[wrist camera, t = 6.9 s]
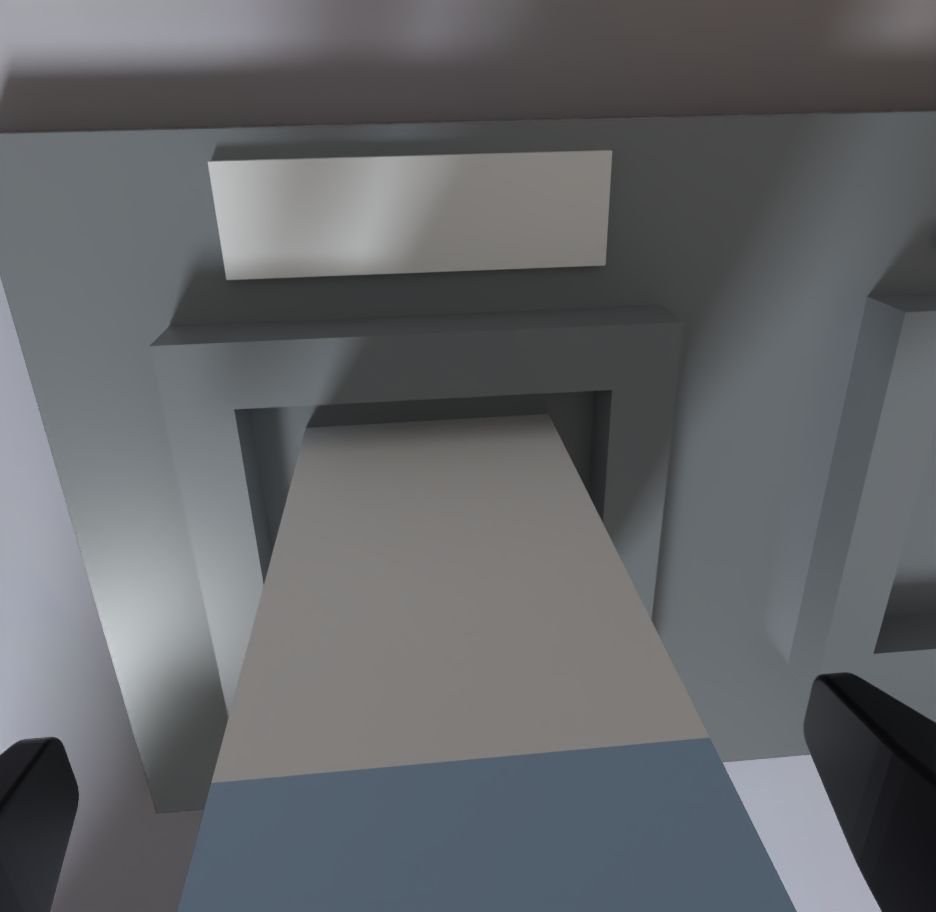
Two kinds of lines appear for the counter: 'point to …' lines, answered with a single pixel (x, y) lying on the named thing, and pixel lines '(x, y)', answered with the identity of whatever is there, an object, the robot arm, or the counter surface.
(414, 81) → the counter surface
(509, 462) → the plug
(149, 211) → the panel
